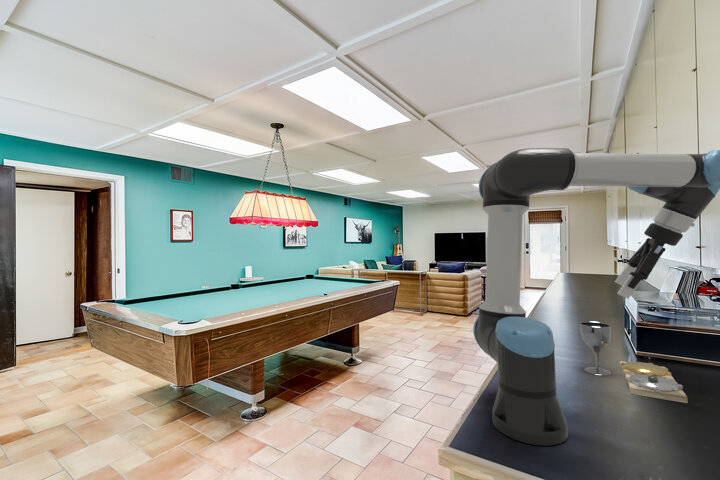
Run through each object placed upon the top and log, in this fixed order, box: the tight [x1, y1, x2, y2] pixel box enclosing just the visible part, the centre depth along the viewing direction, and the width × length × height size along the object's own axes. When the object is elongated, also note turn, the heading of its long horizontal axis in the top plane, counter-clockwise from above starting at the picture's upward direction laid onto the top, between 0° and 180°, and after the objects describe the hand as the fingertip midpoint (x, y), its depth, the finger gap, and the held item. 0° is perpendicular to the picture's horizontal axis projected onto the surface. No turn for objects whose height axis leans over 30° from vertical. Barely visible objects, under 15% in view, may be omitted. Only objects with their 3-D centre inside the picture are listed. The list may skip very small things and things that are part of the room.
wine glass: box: [579, 321, 612, 377], centre depth 103 cm, size 8×8×15 cm
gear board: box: [619, 360, 689, 404], centre depth 94 cm, size 24×12×4 cm, turn 147°
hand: (620, 289), depth 98 cm, fingers open, 13 cm apart
